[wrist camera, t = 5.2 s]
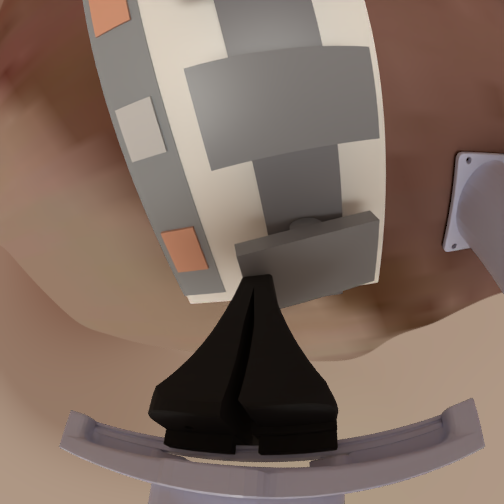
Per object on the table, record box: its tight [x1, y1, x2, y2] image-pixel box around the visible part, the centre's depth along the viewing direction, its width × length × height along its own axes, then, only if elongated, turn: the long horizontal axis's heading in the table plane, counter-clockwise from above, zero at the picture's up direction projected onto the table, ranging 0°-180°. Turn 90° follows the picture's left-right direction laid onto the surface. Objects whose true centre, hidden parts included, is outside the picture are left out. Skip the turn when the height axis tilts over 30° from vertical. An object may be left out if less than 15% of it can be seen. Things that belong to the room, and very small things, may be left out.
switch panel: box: [83, 0, 386, 304], centre depth 12 cm, size 14×26×3 cm, turn 12°
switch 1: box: [184, 46, 380, 171], centre depth 9 cm, size 7×4×2 cm, turn 102°
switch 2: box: [234, 210, 380, 309], centre depth 14 cm, size 7×4×2 cm, turn 102°
